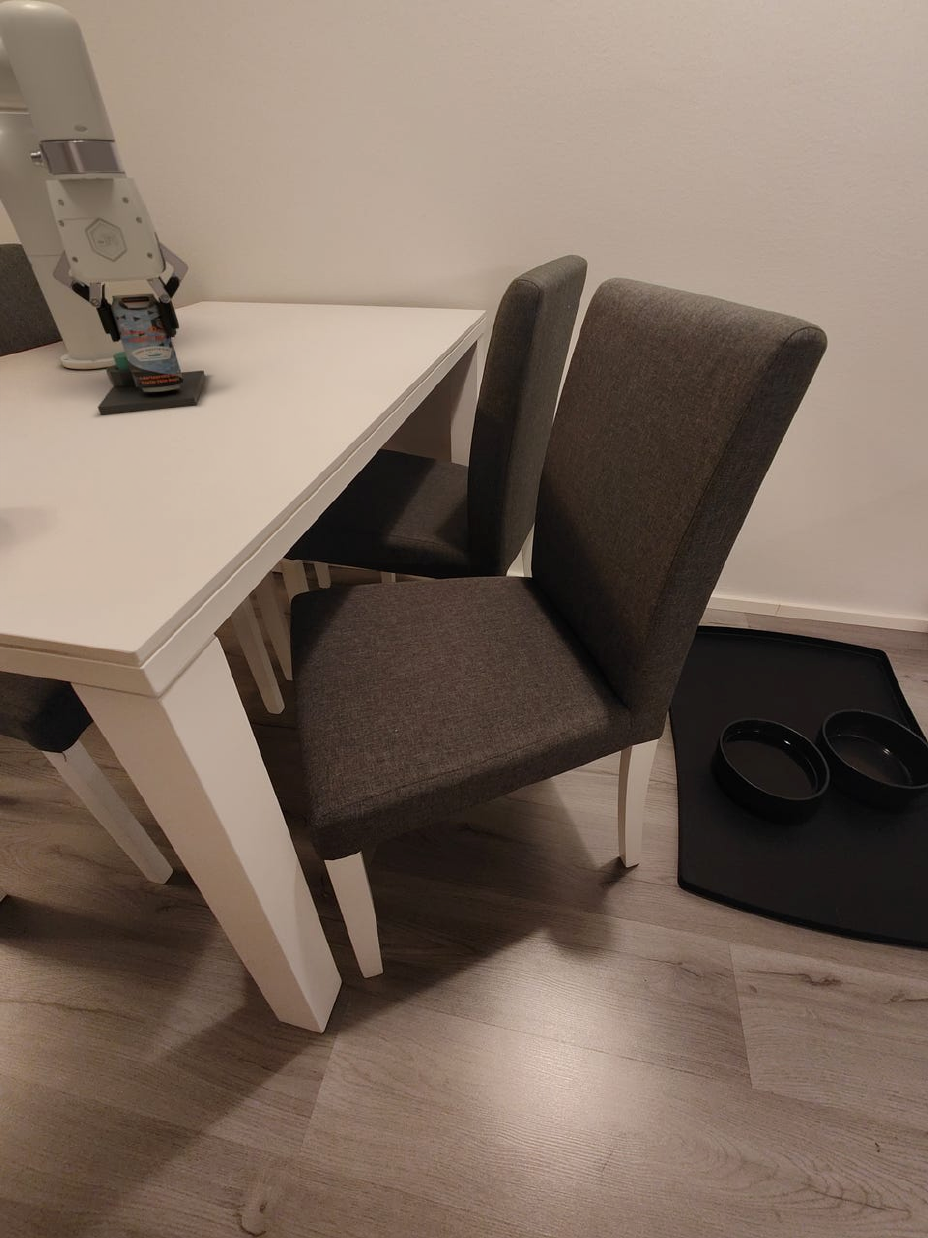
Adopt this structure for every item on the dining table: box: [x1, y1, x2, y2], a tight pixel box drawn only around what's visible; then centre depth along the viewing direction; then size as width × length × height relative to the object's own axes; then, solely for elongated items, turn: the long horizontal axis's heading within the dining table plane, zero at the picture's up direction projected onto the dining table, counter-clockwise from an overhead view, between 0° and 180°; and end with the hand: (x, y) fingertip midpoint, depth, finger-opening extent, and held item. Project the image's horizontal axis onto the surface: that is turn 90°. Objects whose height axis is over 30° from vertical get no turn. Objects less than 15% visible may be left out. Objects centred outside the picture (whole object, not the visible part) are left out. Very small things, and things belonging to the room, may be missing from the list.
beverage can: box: [111, 293, 183, 392], centre depth 76 cm, size 6×7×12 cm
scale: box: [97, 365, 206, 416], centre depth 80 cm, size 14×12×3 cm
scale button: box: [113, 352, 130, 370], centre depth 82 cm, size 3×3×2 cm
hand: (145, 335), depth 75 cm, fingers closed on beverage can, 6 cm apart
